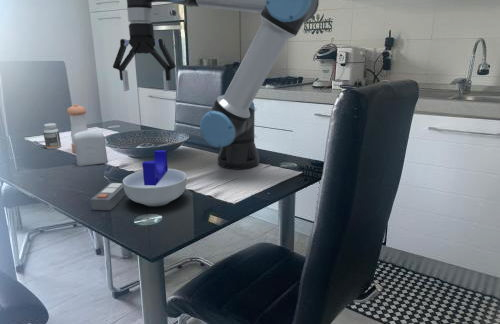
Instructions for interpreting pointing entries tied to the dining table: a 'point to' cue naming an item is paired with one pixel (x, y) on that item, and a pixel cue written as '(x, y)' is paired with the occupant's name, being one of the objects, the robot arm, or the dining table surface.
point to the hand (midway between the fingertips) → (146, 90)
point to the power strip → (108, 197)
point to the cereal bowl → (155, 188)
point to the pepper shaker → (77, 121)
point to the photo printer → (90, 147)
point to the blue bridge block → (155, 168)
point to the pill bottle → (51, 136)
